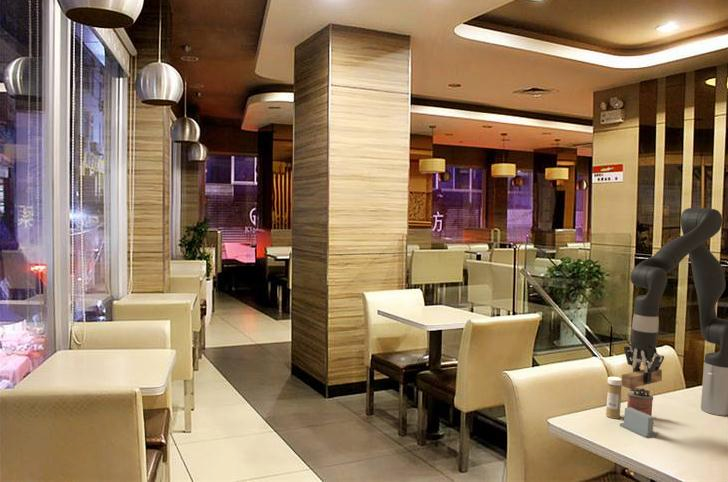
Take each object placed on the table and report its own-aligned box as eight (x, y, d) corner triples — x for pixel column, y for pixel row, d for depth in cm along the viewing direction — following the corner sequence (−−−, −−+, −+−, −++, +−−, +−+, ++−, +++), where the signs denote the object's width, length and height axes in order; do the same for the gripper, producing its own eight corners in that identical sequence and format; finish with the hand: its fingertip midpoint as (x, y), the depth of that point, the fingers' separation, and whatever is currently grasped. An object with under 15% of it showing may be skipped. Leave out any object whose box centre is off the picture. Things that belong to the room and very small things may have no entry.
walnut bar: (653, 377, 189) (653, 367, 189) (661, 380, 186) (661, 369, 186) (621, 385, 184) (621, 374, 183) (630, 388, 181) (630, 377, 180)
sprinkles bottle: (622, 417, 197) (625, 378, 196) (614, 419, 195) (617, 381, 194) (610, 413, 201) (613, 375, 200) (602, 415, 199) (605, 377, 198)
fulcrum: (630, 423, 192) (631, 406, 191) (656, 435, 183) (658, 417, 182) (619, 425, 190) (620, 408, 189) (645, 437, 181) (646, 419, 180)
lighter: (651, 416, 199) (653, 388, 198) (652, 419, 196) (654, 391, 195) (625, 412, 202) (627, 384, 201) (626, 416, 199) (628, 387, 198)
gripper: (673, 332, 179) (669, 387, 180) (635, 323, 192) (631, 374, 193) (655, 334, 176) (651, 389, 177) (618, 324, 189) (615, 376, 190)
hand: (641, 381), depth 185 cm, fingers closed on walnut bar, 3 cm apart
